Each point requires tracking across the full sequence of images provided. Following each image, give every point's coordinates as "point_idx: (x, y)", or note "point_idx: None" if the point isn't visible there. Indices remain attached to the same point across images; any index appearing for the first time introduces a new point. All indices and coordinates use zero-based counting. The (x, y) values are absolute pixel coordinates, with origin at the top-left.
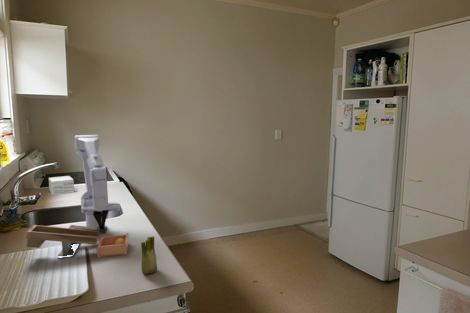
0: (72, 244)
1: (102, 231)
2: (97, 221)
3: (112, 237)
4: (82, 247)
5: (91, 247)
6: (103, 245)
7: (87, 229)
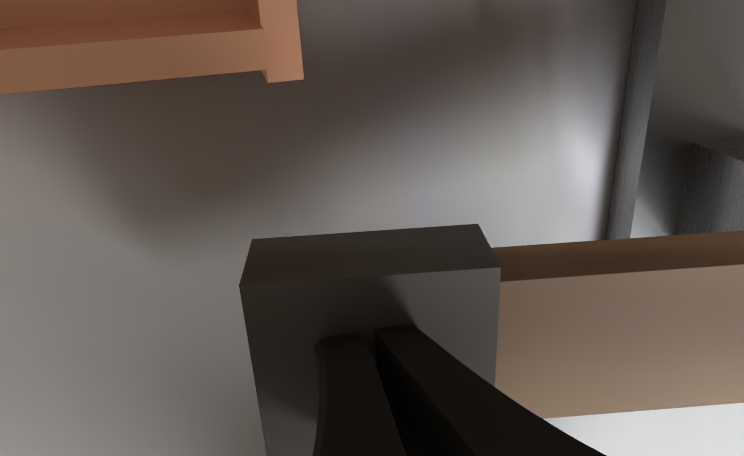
0: (726, 102)
1: (329, 263)
2: (568, 445)
3: (8, 48)
4: (575, 49)
5: (444, 23)
6: (240, 11)
7: (679, 265)
